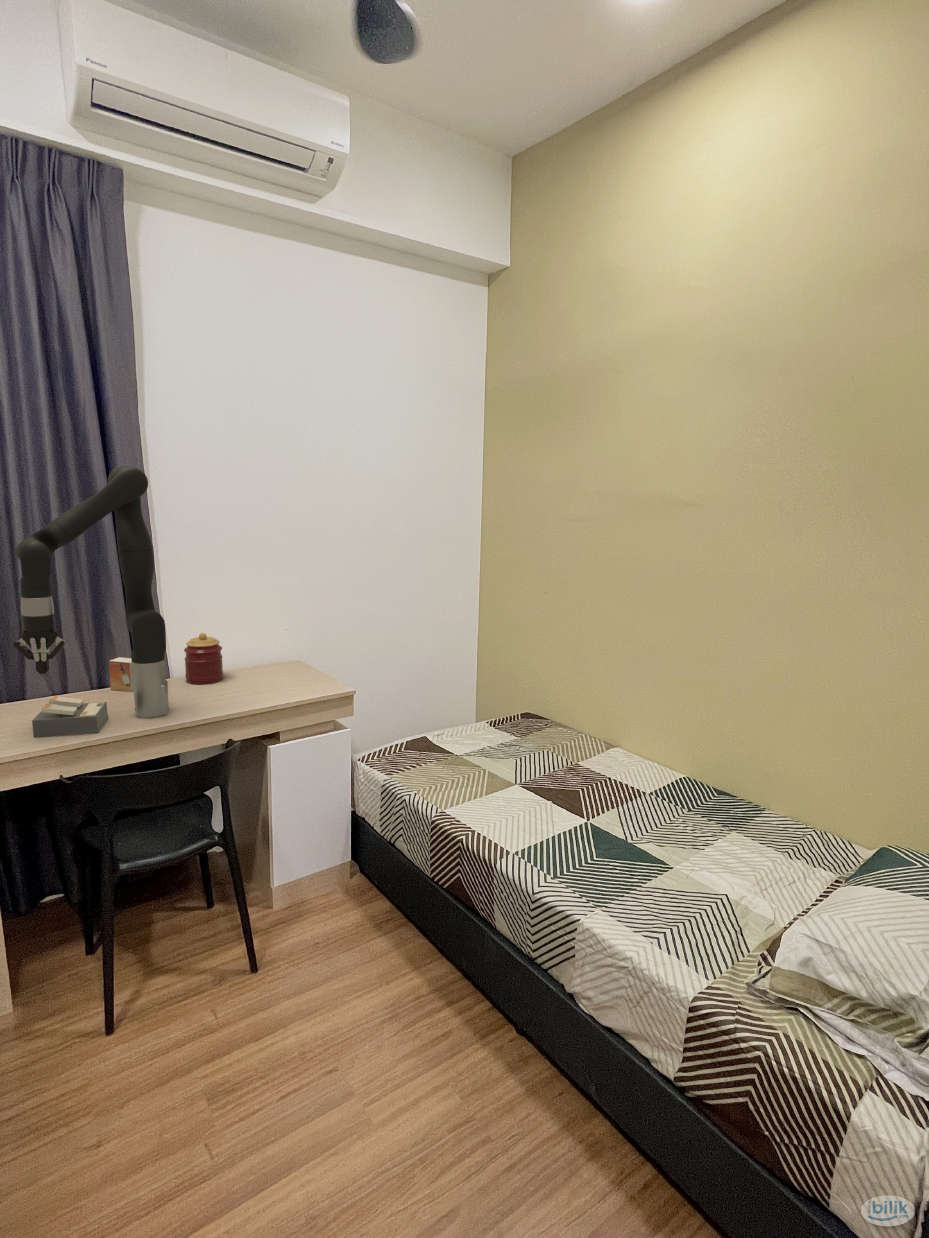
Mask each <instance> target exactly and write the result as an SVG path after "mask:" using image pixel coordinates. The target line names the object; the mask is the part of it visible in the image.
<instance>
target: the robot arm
mask: <svg viewBox="0 0 929 1238" xmlns="http://www.w3.org/2000/svg"><path fill="white" fill-rule="evenodd" d="M148 487H149V479H148V477H147V475H146V473H145V472H143V471H142V470H141V469H139V468H137V467H134V466H131V465H130V466H128V465H127V466H126V465H123V466H117V467H115V468H113V469H112V470H111V471H110V472H109V474H108V477H107V484H106V485H105V486H104V487H102V488H101V489H100V490H98V491H97V492H96V493H94V494H93V495H91V496H90V497H88V498H86V499H85V500H84V501H81V502H80V503H78V504H76V505H74V506H72V507H70V508H69V509H67V510H66V511H65V512H63V513H61V514H60V515H59V516H57V517H56V518H55V519H53V520H51V521H50V523H48V524H47V525H45V526H44V527H43V528H41V529H39V530H37V531H35V532H34V533H32V534H31V535H29V536H27V537H26V538H24V539H23V540H21V541H20V542H19V544H17V546H16V549H15V553H16V557H17V559H18V560H19V561H20V568H21V577H20V583H19V585H20V586H19V587H20V596H21V597H20V598H21V601H20V614H21V621H22V634H21V638H20V639H18V640H16V641H14V642H13V647H14V648H15V649H17V650H18V651H19V652H20V653H21V654H22V655H23V656H24V657H25V658H26V660H29V661H30V660H33V661H35V662H34V663H35V671H36V672H37V673H38V674H39V675H46V674H47V673H48V672H49V671H50V660H51V659H54V658H55V657H56V656H57V655H58V654H59V652H60V651H61V650H62V649H63V648H64V646H65V645H66V644H67V643H68V640H67V639H63V638H61V637H59V634H58V632H57V631H56V620H55V607H54V605H55V604H54V601H53V596H52V595H53V593H52V582H51V571H52V570H51V569H52V558H51V557H52V556H51V554H53V553H54V552H55V551H57V550H58V549H60V548H62V547H64V546H67V545H69V544H71V543H72V542H73V541H74V540H76V539H77V538H78V537H80V536H81V535H83V534H84V533H85V532H87V531H88V530H89V529H90V528H92V527H93V526H94V525H96V524H97V523H98V522H100V521H101V520H103V518H105V517H106V516H108V515H109V514H111V513H113V512H114V516H115V534H116V541H117V544H116V545H117V552H118V559H119V566H120V567H119V568H120V573H121V577H122V582H123V587H124V592H125V609H126V610H125V611H126V612H125V613H126V614H125V618H126V619H125V620H126V621H125V622H126V627H127V629H128V630H129V632H130V633H131V634H132V647H133V648H132V651H131V653H130V658H131V661H132V675H133V690H134V691H133V699H134V700H133V702H134V715H135V716H136V717H137V718H142V719H145V718H146V719H147V718H148V719H149V718H157V717H162V716H167V715H168V711H169V710H170V705H169V704H170V703H169V691H168V690H169V688H168V680H167V678H166V677H167V676H166V675H167V674H166V659H165V657H166V656H165V655H166V650H167V636H166V635H167V633H166V622H165V619H164V617H163V616H162V615H161V614H160V613H159V612H157V611H156V609H155V606H154V605H155V604H154V601H153V595H152V593H153V592H152V584H153V580H154V579H153V578H154V571H155V558H154V551H153V542H152V539H151V536H150V533H149V530H148V528H147V525H146V523H145V521H144V517H143V512H142V503H141V501H142V500H141V499H142V498H141V497H142V496H144V494H145V493H146V492H147V490H148ZM54 643H55V646H56V647H55V648H54V649H53V650H52V651H51V653H50V648H51V647H52V645H53V644H54ZM26 644H27V646H29V647H27V646H26ZM30 648H31V650H30Z"/></svg>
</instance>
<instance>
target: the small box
mask: <svg viewBox="0 0 929 1238" xmlns="http://www.w3.org/2000/svg"><path fill="white" fill-rule="evenodd" d="M108 663H109V665H108V667H109V681H110V684H109V685H110V690H113V691H121V692H122V691H123V692H128V693H129V692H130V693H132V692H134V690H133V675H132V661H131V657H130V658H129V657H121V656H120V657H115V658H114V659H110V660H108Z"/></svg>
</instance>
